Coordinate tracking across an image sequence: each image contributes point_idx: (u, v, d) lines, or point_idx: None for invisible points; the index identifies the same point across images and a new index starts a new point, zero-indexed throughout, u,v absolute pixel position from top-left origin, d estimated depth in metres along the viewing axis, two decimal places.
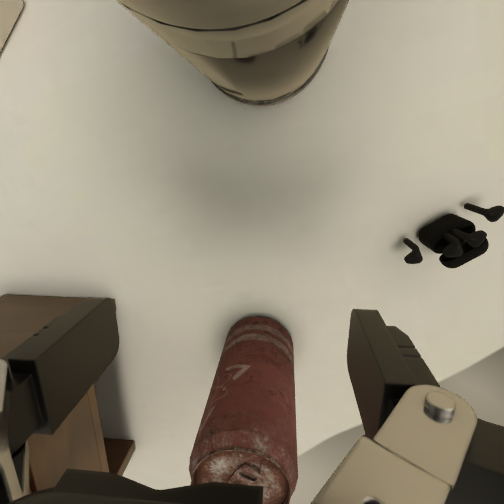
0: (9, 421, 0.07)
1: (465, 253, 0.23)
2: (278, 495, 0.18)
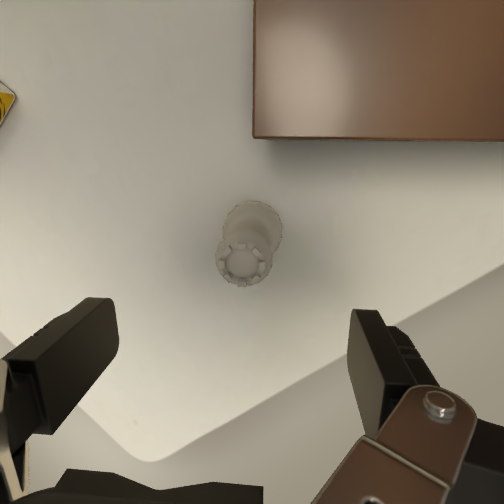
0: (9, 421, 0.07)
1: None
2: None
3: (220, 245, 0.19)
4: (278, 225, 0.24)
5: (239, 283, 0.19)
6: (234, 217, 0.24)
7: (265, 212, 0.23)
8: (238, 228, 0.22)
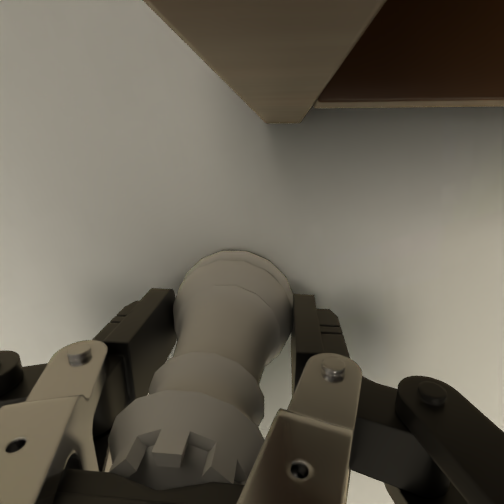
0: (110, 397, 0.08)
1: None
2: None
3: (117, 424, 0.06)
4: (286, 304, 0.11)
5: None
6: (192, 289, 0.11)
7: (258, 278, 0.11)
8: (191, 332, 0.09)
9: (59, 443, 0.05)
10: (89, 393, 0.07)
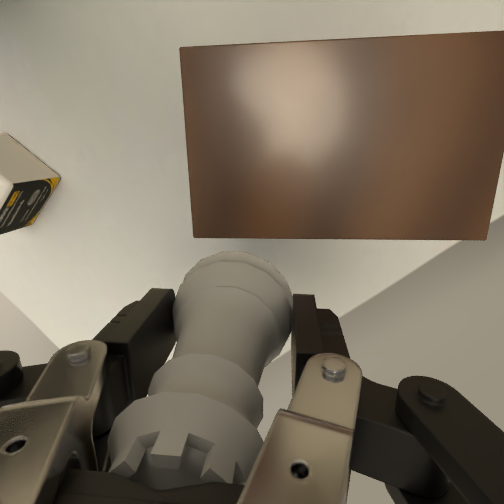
0: (110, 397, 0.08)
1: None
2: None
3: (116, 425, 0.06)
4: (286, 305, 0.11)
5: None
6: (192, 290, 0.11)
7: (257, 279, 0.11)
8: (191, 333, 0.09)
9: (59, 443, 0.05)
10: (89, 393, 0.07)
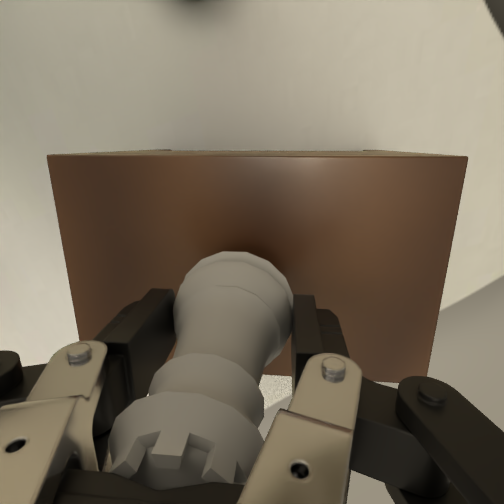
0: (110, 397, 0.08)
1: None
2: None
3: (117, 425, 0.06)
4: (286, 305, 0.11)
5: None
6: (192, 290, 0.11)
7: (258, 279, 0.11)
8: (191, 333, 0.09)
9: (59, 443, 0.05)
10: (89, 393, 0.07)
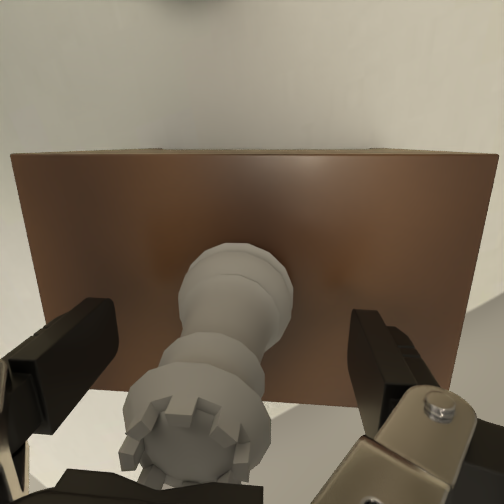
0: (9, 421, 0.07)
1: None
2: None
3: (131, 393, 0.07)
4: (286, 292, 0.12)
5: None
6: (197, 279, 0.12)
7: (259, 268, 0.12)
8: (197, 316, 0.10)
9: None
10: None
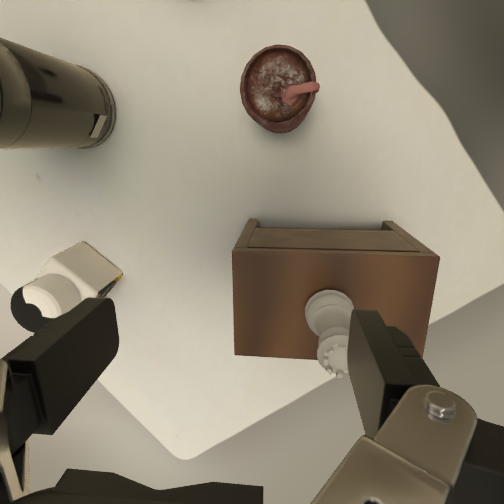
0: (9, 421, 0.07)
1: None
2: (287, 57, 0.26)
3: (322, 344, 0.24)
4: None
5: (338, 375, 0.24)
6: (318, 306, 0.29)
7: (343, 302, 0.29)
8: (327, 321, 0.27)
9: None
10: None
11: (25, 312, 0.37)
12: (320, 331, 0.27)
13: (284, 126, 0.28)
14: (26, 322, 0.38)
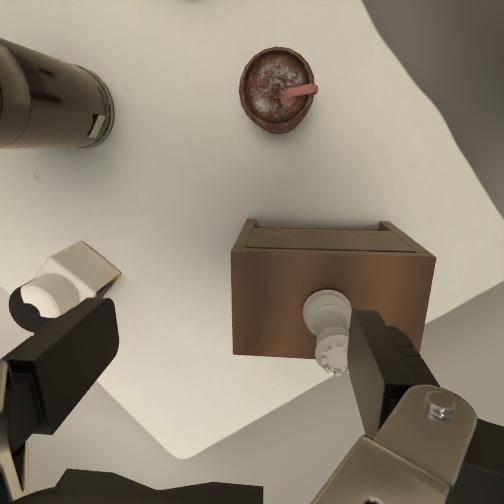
0: (9, 421, 0.07)
1: None
2: (285, 60, 0.26)
3: (320, 343, 0.25)
4: (351, 311, 0.30)
5: (336, 374, 0.24)
6: (316, 306, 0.29)
7: (341, 302, 0.29)
8: (325, 321, 0.27)
9: None
10: None
11: (23, 312, 0.37)
12: (318, 330, 0.27)
13: (283, 127, 0.28)
14: (24, 322, 0.38)
